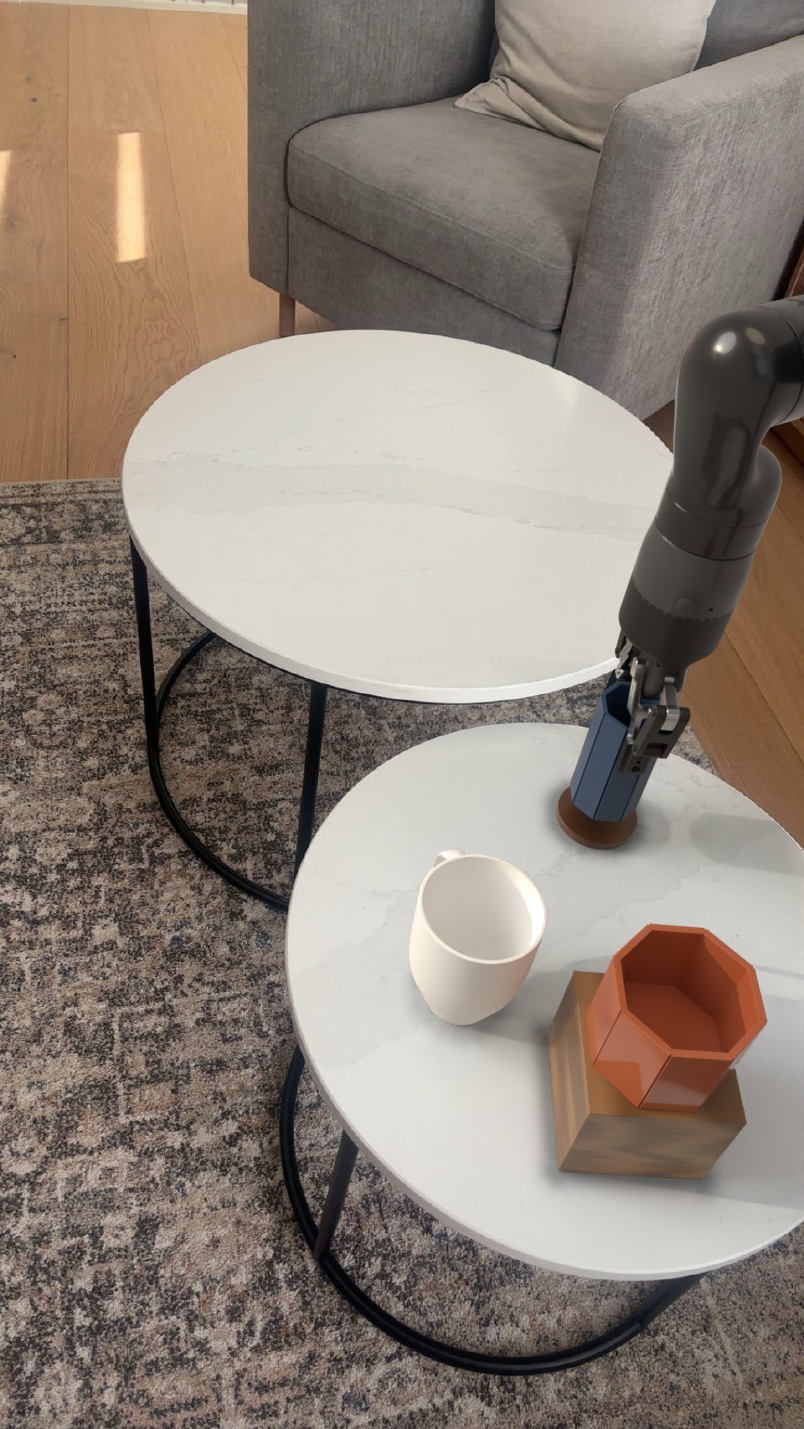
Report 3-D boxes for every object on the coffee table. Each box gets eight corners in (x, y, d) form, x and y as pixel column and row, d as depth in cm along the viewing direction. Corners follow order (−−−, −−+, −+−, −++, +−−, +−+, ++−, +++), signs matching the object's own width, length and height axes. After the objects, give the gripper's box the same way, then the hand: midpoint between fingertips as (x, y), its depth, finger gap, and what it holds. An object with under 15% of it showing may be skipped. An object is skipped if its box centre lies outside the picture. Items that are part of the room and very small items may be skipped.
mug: (531, 1037, 80) (567, 950, 71) (417, 1061, 78) (440, 973, 69) (482, 905, 88) (509, 812, 79) (376, 924, 85) (392, 829, 77)
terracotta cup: (711, 986, 74) (746, 930, 69) (737, 1115, 68) (778, 1063, 63) (581, 977, 74) (607, 919, 69) (596, 1106, 67) (625, 1053, 62)
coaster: (629, 790, 98) (631, 784, 98) (640, 853, 93) (642, 847, 93) (552, 783, 98) (554, 778, 97) (559, 846, 93) (561, 840, 92)
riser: (678, 1043, 81) (717, 980, 75) (702, 1179, 74) (747, 1123, 68) (546, 1033, 80) (573, 970, 74) (557, 1170, 73) (589, 1113, 67)
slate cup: (630, 773, 95) (666, 684, 88) (639, 824, 92) (677, 735, 84) (567, 768, 95) (598, 678, 87) (573, 818, 91) (606, 729, 83)
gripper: (760, 655, 72) (683, 815, 84) (719, 524, 82) (656, 684, 94) (648, 644, 71) (587, 807, 83) (621, 514, 81) (570, 676, 93)
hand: (624, 741), depth 88 cm, fingers closed on slate cup, 5 cm apart
